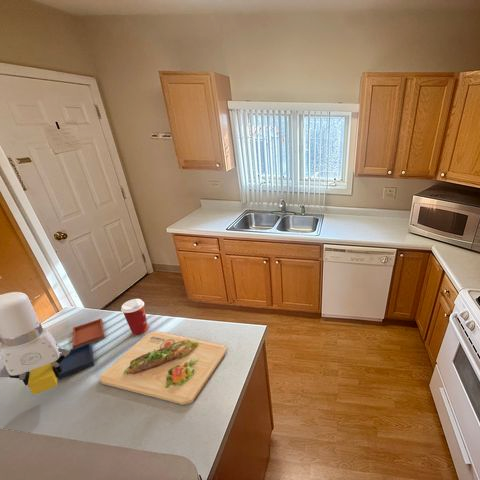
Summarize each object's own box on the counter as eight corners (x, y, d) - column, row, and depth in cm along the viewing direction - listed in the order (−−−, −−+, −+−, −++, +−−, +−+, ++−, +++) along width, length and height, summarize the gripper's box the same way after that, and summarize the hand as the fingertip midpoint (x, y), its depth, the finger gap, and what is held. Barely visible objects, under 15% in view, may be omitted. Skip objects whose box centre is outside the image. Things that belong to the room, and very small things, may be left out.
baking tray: (41, 387, 83) (38, 382, 82) (44, 364, 90) (41, 360, 89) (94, 365, 91) (92, 361, 90) (92, 346, 98) (90, 342, 97)
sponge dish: (105, 337, 102) (103, 334, 102) (74, 349, 97) (72, 345, 96) (102, 321, 111) (101, 318, 110) (74, 330, 105) (72, 327, 104)
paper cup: (154, 329, 108) (147, 302, 102) (134, 340, 102) (125, 312, 96) (145, 321, 112) (137, 295, 106) (125, 332, 106) (116, 305, 100)
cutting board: (229, 349, 100) (227, 335, 97) (189, 407, 79) (186, 391, 76) (152, 333, 106) (148, 319, 103) (96, 383, 85) (89, 367, 82)
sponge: (57, 385, 77) (52, 375, 76) (33, 395, 74) (27, 384, 73) (58, 367, 83) (53, 357, 81) (36, 376, 80) (30, 365, 78)
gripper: (-30, 357, 63) (1, 405, 70) (64, 328, 74) (82, 372, 81) (-23, 339, 68) (5, 386, 75) (65, 314, 79) (82, 357, 86)
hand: (45, 378), depth 78 cm, fingers closed on sponge, 5 cm apart
